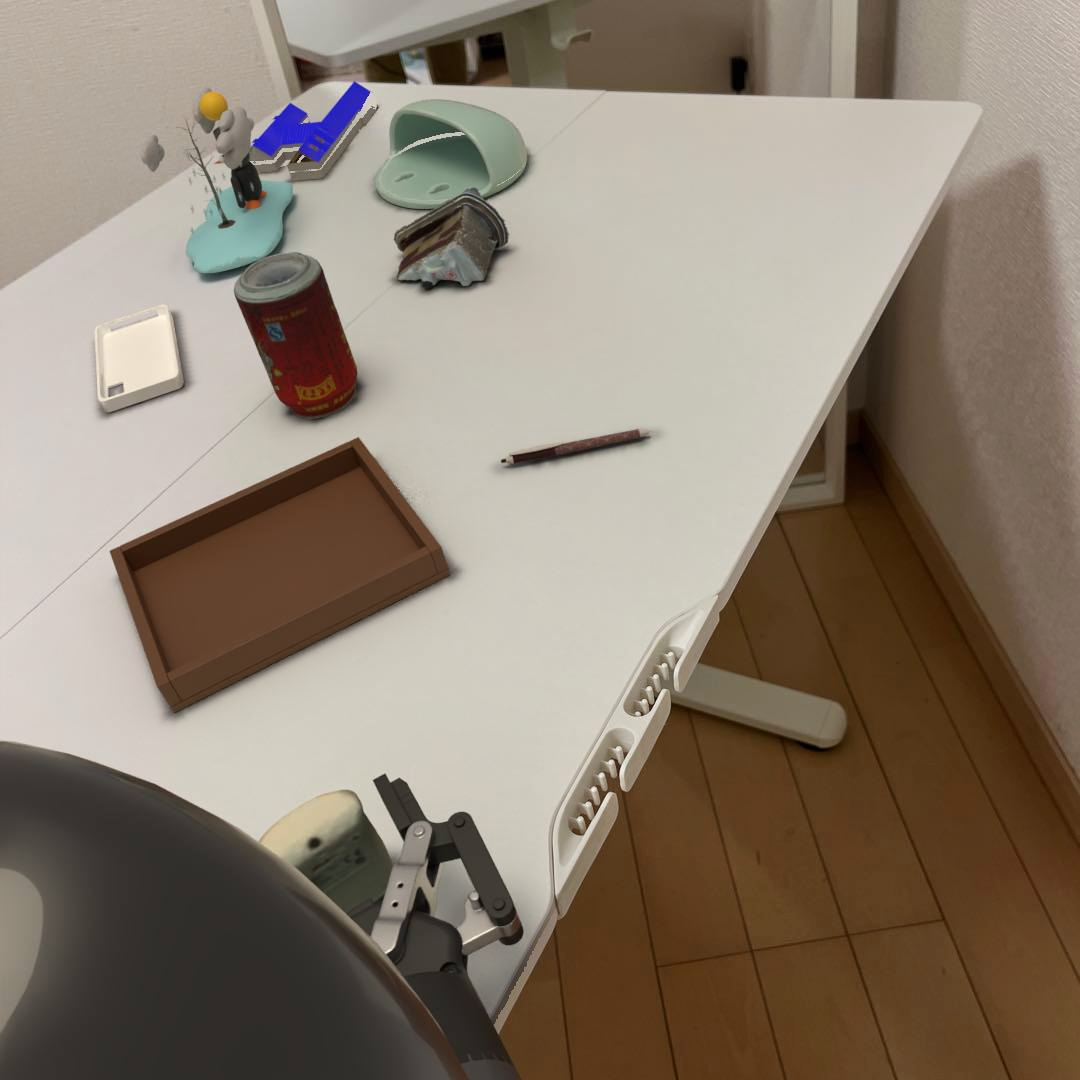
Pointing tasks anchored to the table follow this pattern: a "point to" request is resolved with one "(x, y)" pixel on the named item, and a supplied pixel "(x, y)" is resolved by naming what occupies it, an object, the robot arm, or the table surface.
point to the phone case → (137, 359)
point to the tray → (273, 571)
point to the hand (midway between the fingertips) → (303, 828)
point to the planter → (449, 154)
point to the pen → (571, 446)
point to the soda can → (298, 333)
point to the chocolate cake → (451, 241)
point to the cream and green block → (334, 848)
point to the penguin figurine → (230, 192)
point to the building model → (311, 136)
